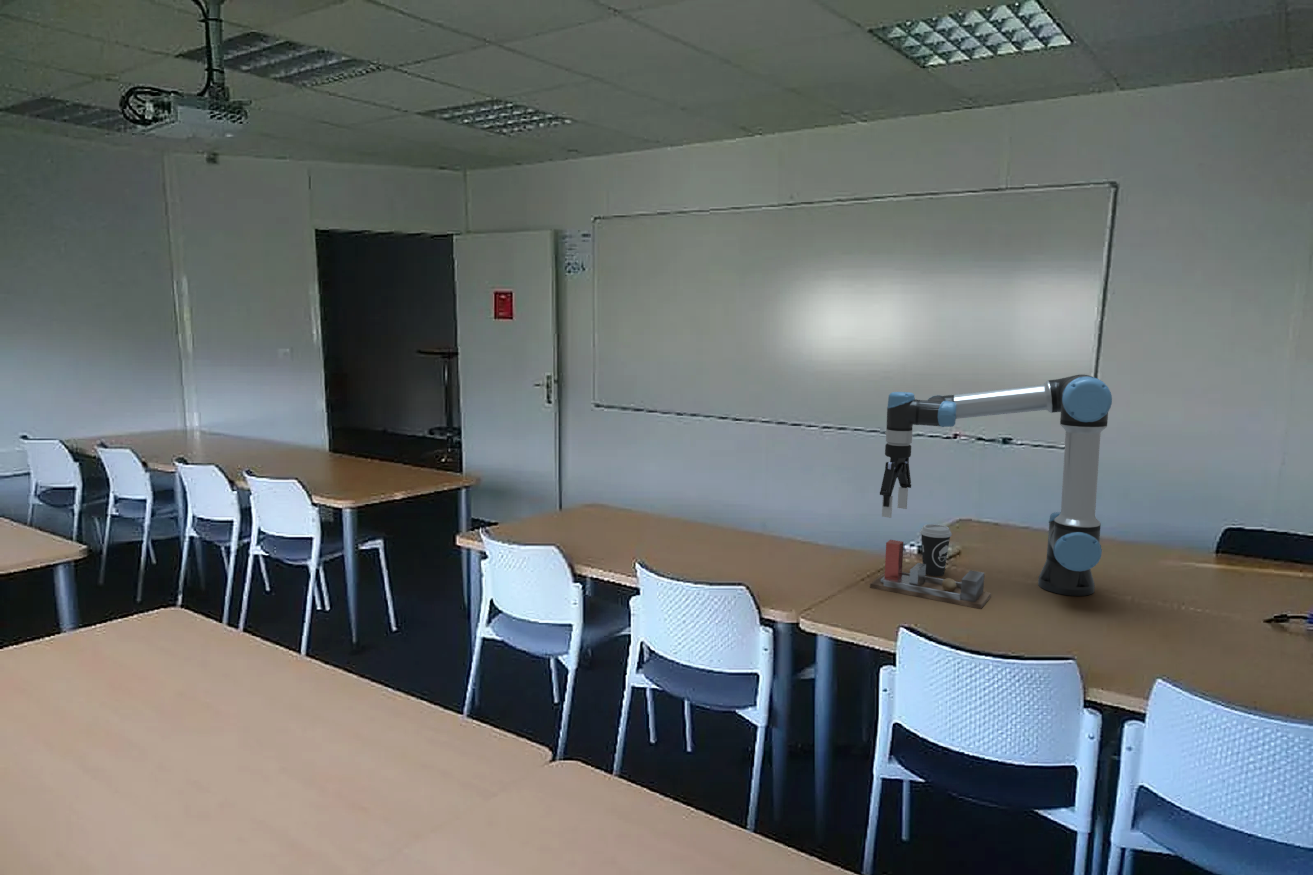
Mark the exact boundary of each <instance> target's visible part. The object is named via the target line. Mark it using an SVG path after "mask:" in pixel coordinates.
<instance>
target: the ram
mask: <svg viewBox="0 0 1313 875" xmlns="http://www.w3.org/2000/svg"><path fill="white" fill-rule="evenodd" d="M884 560H885V561H884V573H885V576H884V577H883V578H882V579H881V583H884V580H888V581H893V582H899V583H904V584H910V585H915V586H921V585H922V584H923V583H925V576H927V575H926V564H923V562H917V563H916V564H915V565H914V566H913V567H911V568H910V569H909V573H910V576H907V575H902V572H903V562H904V561H903V560H904V541H901V540H894V539H889V540H887V542H885V558H884Z"/></svg>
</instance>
